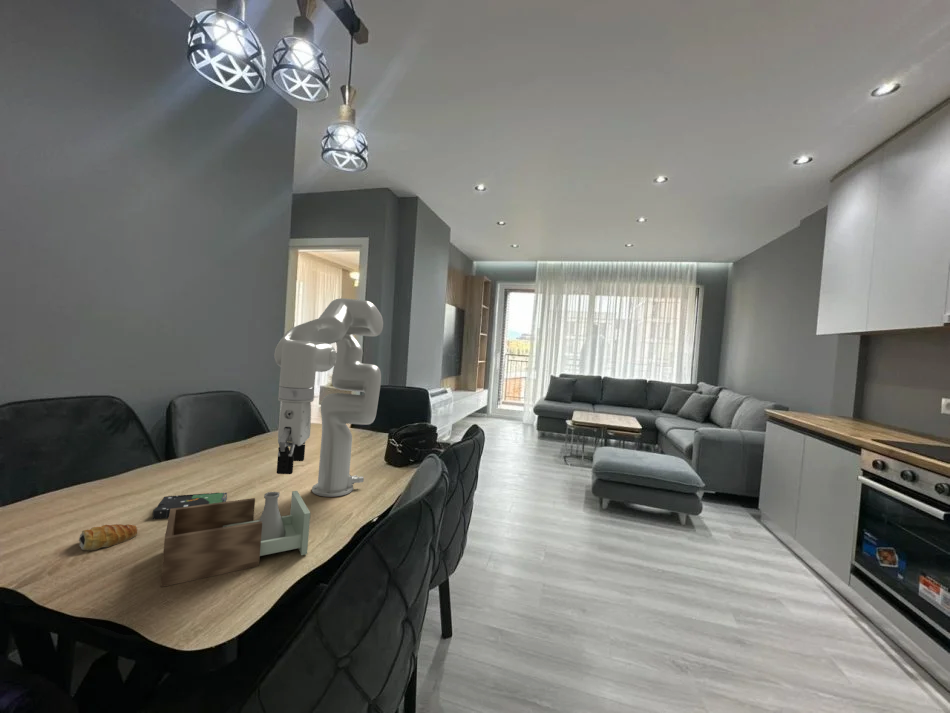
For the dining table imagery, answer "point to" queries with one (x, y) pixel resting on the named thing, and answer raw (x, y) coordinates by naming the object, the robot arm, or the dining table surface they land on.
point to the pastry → (106, 536)
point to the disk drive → (186, 502)
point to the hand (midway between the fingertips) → (291, 466)
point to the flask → (271, 518)
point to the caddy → (210, 541)
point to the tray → (289, 529)
